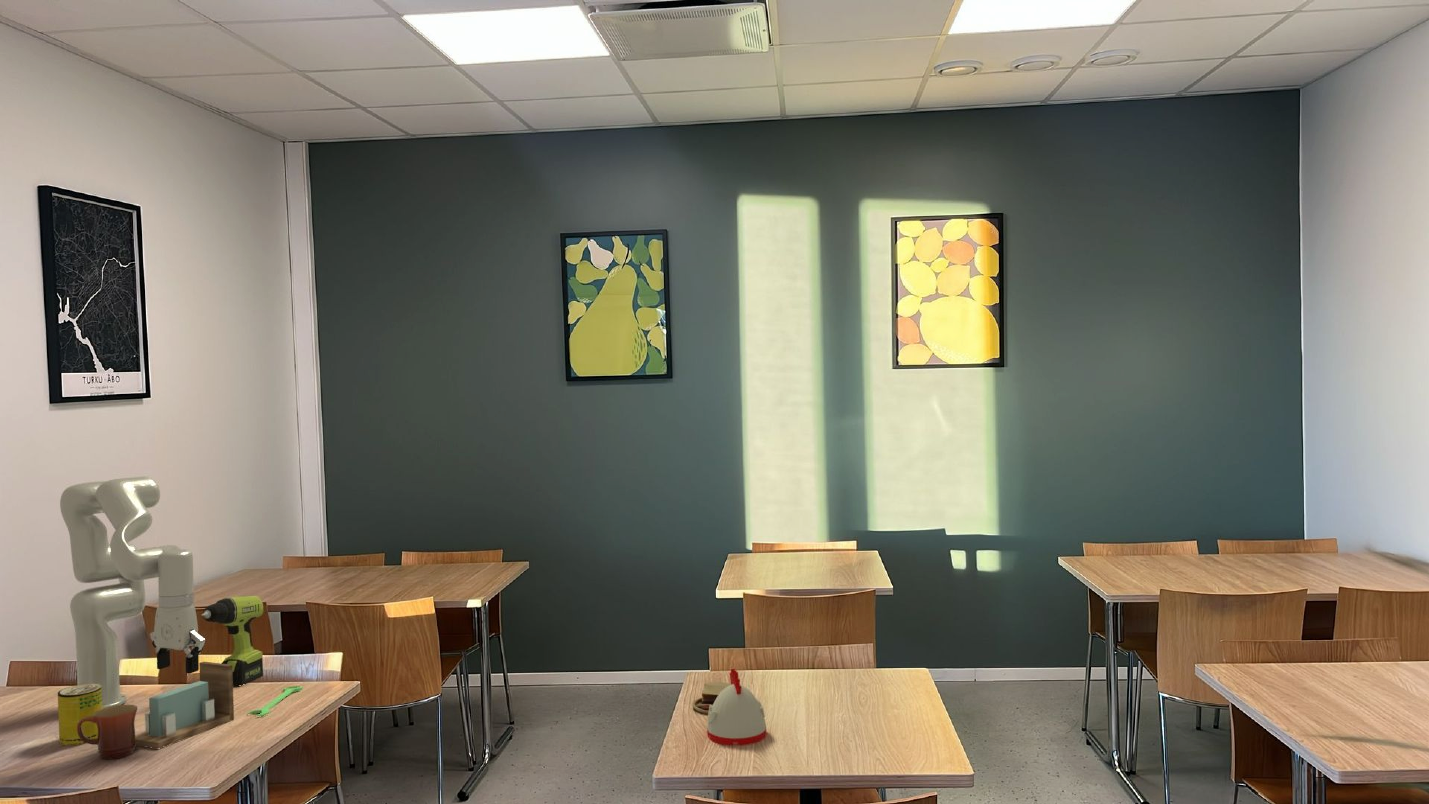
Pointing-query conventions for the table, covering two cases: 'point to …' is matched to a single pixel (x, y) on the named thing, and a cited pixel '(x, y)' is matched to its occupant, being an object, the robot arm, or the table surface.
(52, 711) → the table surface
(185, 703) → the pale teal rectangular block
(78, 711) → the yellow food can
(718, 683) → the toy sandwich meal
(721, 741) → the kitchen timer
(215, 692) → the cabinet base
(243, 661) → the cordless drill
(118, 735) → the mug
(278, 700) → the wrench
